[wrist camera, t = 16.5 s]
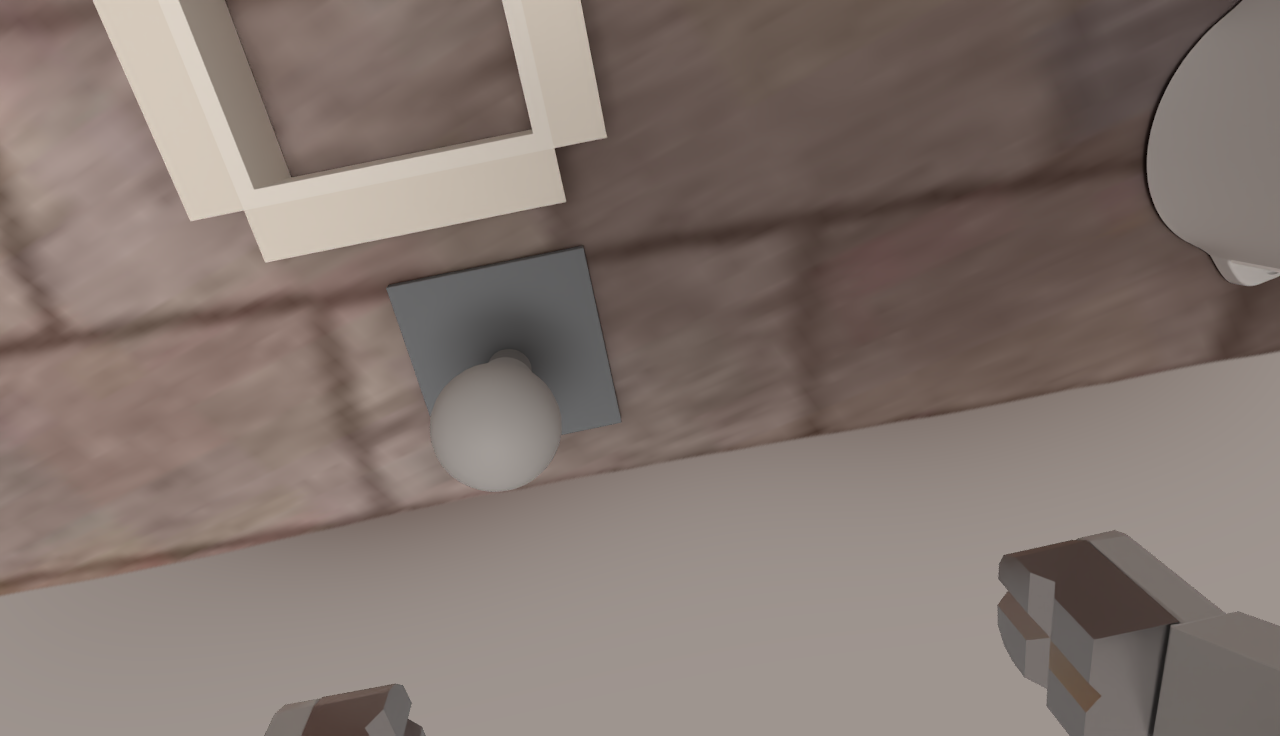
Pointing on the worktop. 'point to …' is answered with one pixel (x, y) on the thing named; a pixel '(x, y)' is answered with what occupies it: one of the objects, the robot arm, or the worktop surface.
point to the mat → (513, 330)
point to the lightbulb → (496, 424)
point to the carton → (358, 194)
